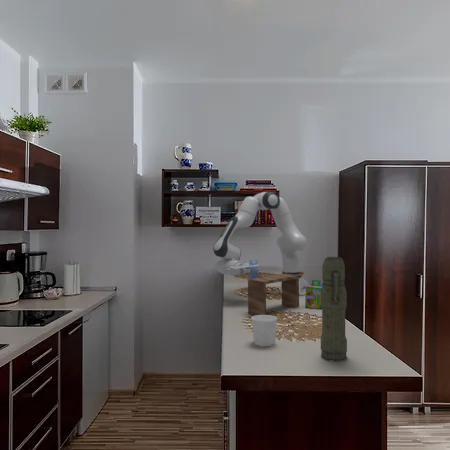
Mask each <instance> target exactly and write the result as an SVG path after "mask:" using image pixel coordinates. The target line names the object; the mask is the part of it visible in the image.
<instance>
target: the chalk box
mask: <svg viewBox="0 0 450 450" xmlns="http://www.w3.org/2000/svg"><path fill="white" fill-rule="evenodd" d="M316 283H317V284H316ZM321 290H322V285H321V280H320V279H311V284H308V286H306V294H305V297H304V298H305V304H304V306H305V308H307V309H315V310H322V308H321Z"/></svg>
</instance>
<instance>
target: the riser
mask: <svg viewBox="0 0 450 450" xmlns="http://www.w3.org/2000/svg"><path fill="white" fill-rule="evenodd" d="M281 281H282V294H281V306H284V307H290V308H295V309H298V308H300V295H299V275H292V274H282V273H281V274H274V275H268V276H263V277H262V276H261V277H258V278H255V279H249V278H248V279H247V313H248V315H253V316H256V315H267V285H270V284H274V283H275V284H276V283H279V282H280V283H281Z"/></svg>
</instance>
